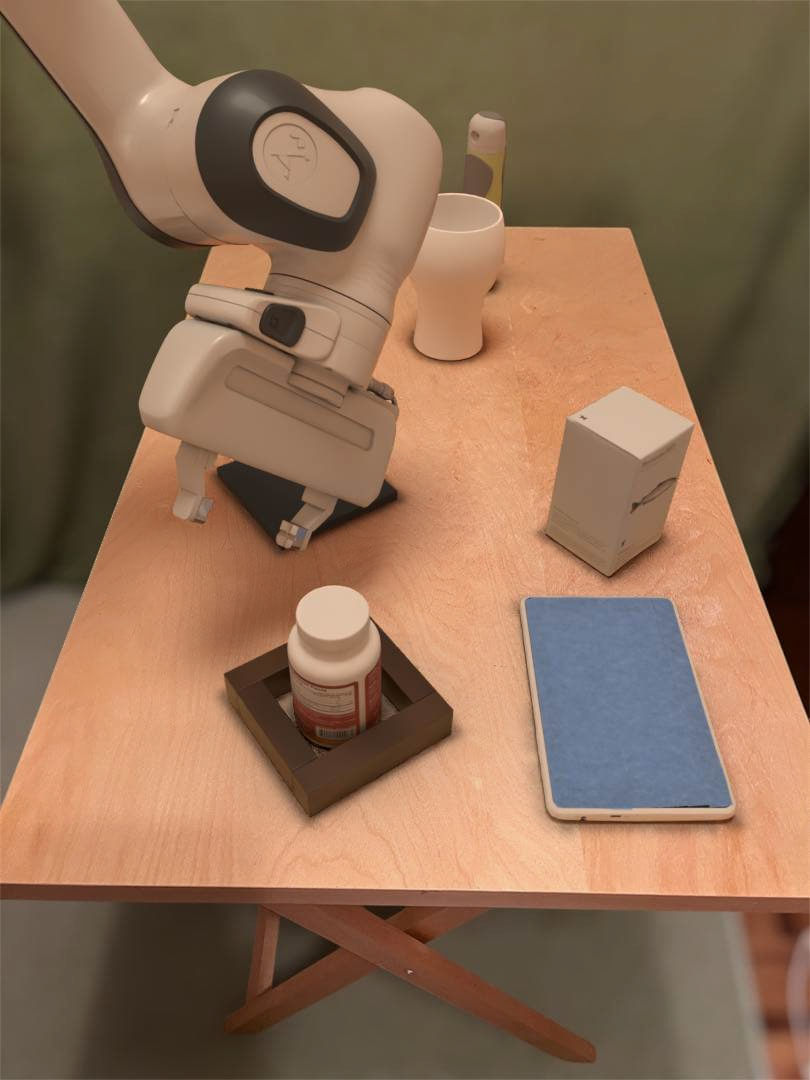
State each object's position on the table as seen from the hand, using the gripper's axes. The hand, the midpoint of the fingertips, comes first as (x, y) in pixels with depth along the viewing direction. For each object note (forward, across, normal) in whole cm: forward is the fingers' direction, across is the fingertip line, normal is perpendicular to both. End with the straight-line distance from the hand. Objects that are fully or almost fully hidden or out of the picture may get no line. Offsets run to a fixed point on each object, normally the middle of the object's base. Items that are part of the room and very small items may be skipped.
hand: (241, 535), depth 62 cm
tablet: (+2, -22, +20) cm, 30 cm away
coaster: (-4, -17, -13) cm, 22 cm away
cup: (-25, -37, -20) cm, 49 cm away
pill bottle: (+10, -9, +6) cm, 15 cm away
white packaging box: (-10, -30, +10) cm, 33 cm away
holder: (+10, -9, +6) cm, 15 cm away
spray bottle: (-34, -45, -26) cm, 62 cm away
